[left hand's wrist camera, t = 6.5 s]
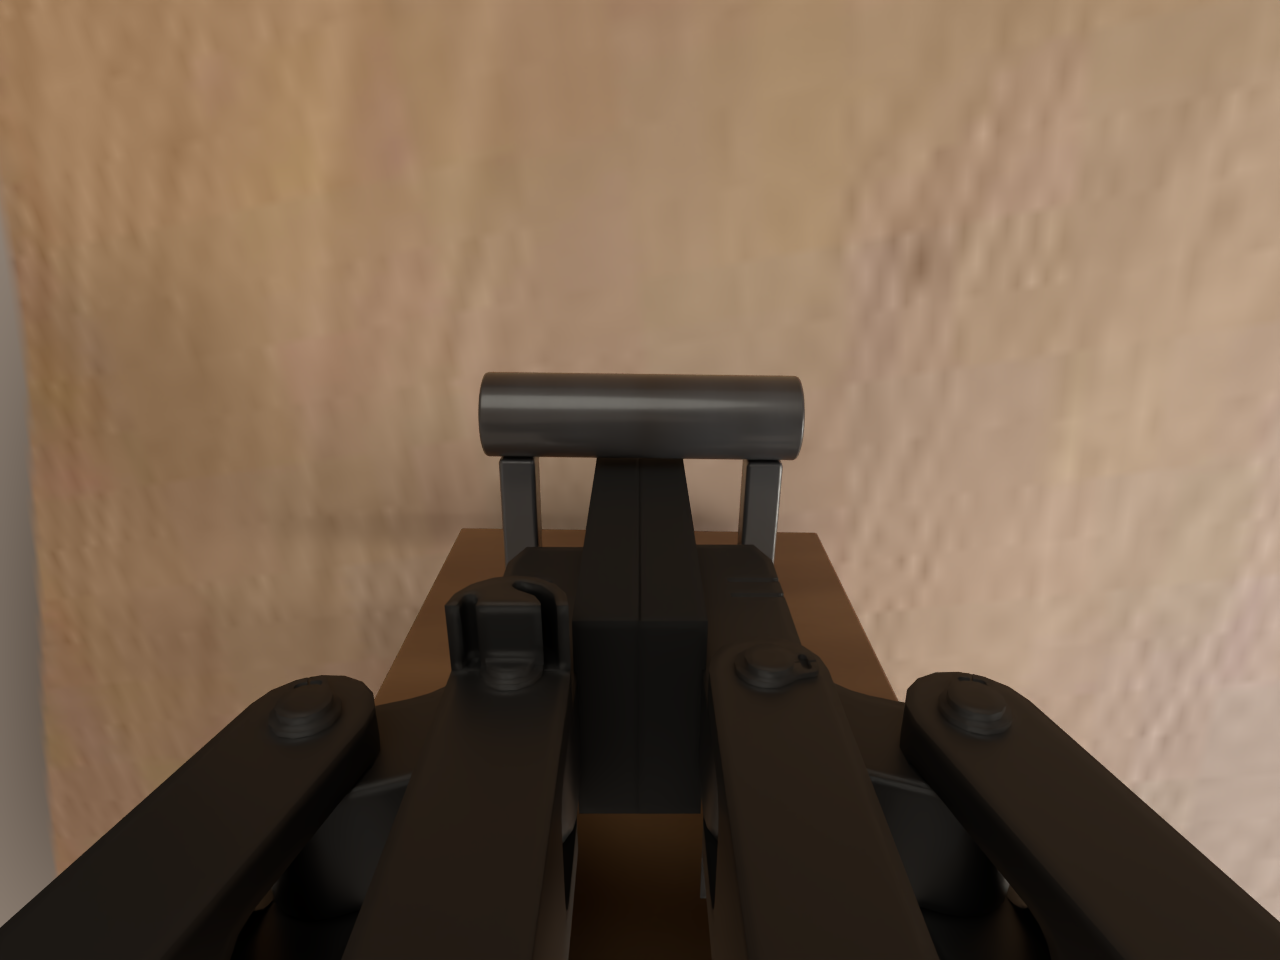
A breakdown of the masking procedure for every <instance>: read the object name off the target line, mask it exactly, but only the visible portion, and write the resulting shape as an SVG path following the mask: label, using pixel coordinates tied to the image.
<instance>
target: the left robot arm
mask: <svg viewBox="0 0 1280 960" xmlns="http://www.w3.org/2000/svg"><path fill="white" fill-rule="evenodd" d="M444 607H445V616H446V625H447V635H448V644H449V653H450V662H451V673H450V676H449V678H448V681H447V683H446V686H445V687H442V688H440V689H438V690H436V691H433V692H431V693H428V694H425V695H421V696H418V697H414V698H411V699H406V700H401V701H396V702H391V703H387V704H382V705H377V706H375V702H374V696H373V692H372V691H371V690H370V689H369V688H368V687H367V686H366V685H365V684H364V683H363V682H361V681H358V680H355V679H352V678H350V677H347V676H330V675H321V676H315V677H310V678H304V679H299V680H295V681H293V682H291V683H288V684H286V685H283V686H281V687H278V688H276V689H273V690H271V691H270V692H268V693H267V694H265V695H264V696H262V697H261V698H259V699H258V700H256V701H255V702H253V703H252V704H251V705H250V706H248V707H247V708H246V709H245V710H244V711H243V712H242V713H241V714H239V715H238V716H237V717H236V718H235V719H234V720H233V721H232V722H230V723H229V724H228V725H227V726H226V727H225V728H224V729H223V730H221V731H220V732H219V733H218V734H217V735H216V736H215V737H214V738H213V739H211V740H210V741H209V742H208V743H207V744H206V745H205V746H204V747H202V748H201V749H200V750H199V751H198V752H197V753H196V754H195V755H193V756H192V757H191V758H190V759H189V760H188V761H187V762H186V763H184V764H183V765H182V766H181V767H180V768H179V769H178V770H177V771H175V772H174V773H173V774H172V775H171V776H170V777H169V778H168V779H167V780H165V781H164V782H163V783H162V784H161V785H160V786H159V787H158V788H156V789H155V790H154V791H153V792H152V793H151V794H150V795H149V796H147V797H146V798H145V799H144V800H143V801H142V802H141V803H140V804H138V805H137V806H136V807H135V808H134V809H133V810H132V811H131V812H130V813H128V814H127V815H126V816H125V817H124V818H123V819H122V820H121V821H119V822H118V823H117V824H116V825H115V826H114V827H113V828H112V829H110V830H109V831H108V832H107V833H106V834H105V835H104V836H103V837H101V838H100V839H99V840H98V841H97V842H96V843H95V844H94V845H93V846H91V847H90V848H89V849H88V850H87V851H86V852H85V853H84V854H82V855H81V856H80V857H79V858H78V859H77V860H76V861H75V862H73V863H72V864H71V865H70V866H69V867H68V868H67V869H66V870H64V871H63V872H62V873H61V874H60V875H59V876H58V877H57V878H56V879H54V880H53V881H52V882H51V883H50V884H49V885H48V886H47V887H45V888H44V889H43V890H42V891H41V892H40V893H39V894H38V895H36V896H35V897H34V898H33V899H32V900H31V901H30V902H29V903H27V904H26V905H25V906H24V907H23V908H22V909H21V910H20V911H19V912H17V913H16V914H15V915H14V916H13V917H12V918H11V919H10V920H8V921H7V922H6V923H5V924H4V925H3V926H2V927H1V928H0V960H568V957H569V946H570V935H571V924H572V913H573V901H574V890H575V879H576V868H577V857H578V835H577V810H578V799H579V814H701V798H702V808H703V835H702V860H701V886H700V898H706V900H707V912H708V923H709V934H710V945H711V956H712V960H1280V922H1279V921H1278V920H1277V919H1276V918H1275V917H1273V916H1272V915H1271V914H1270V913H1269V912H1268V911H1267V910H1266V909H1264V908H1263V907H1262V906H1261V905H1260V904H1259V903H1258V902H1257V901H1255V900H1254V899H1253V898H1252V897H1251V896H1250V895H1249V894H1247V893H1246V892H1245V891H1244V890H1243V889H1242V888H1241V887H1240V886H1238V885H1237V884H1236V883H1235V882H1234V881H1233V880H1232V879H1231V878H1229V877H1228V876H1227V875H1226V874H1225V873H1224V872H1223V871H1221V870H1220V869H1219V868H1218V867H1217V866H1216V865H1215V864H1214V863H1212V862H1211V861H1210V860H1209V859H1208V858H1207V857H1206V856H1205V855H1203V854H1202V853H1201V852H1200V851H1199V850H1198V849H1197V848H1195V847H1194V846H1193V845H1192V844H1191V843H1190V842H1189V841H1188V840H1186V839H1185V838H1184V837H1183V836H1182V835H1181V834H1180V833H1179V832H1177V831H1176V830H1175V829H1174V828H1173V827H1172V826H1171V825H1169V824H1168V823H1167V822H1166V821H1165V820H1164V819H1163V818H1162V817H1160V816H1159V815H1158V814H1157V813H1156V812H1155V811H1154V810H1153V809H1151V808H1150V807H1149V806H1148V805H1147V804H1146V803H1145V802H1143V801H1142V800H1141V799H1140V798H1139V797H1138V796H1137V795H1136V794H1134V793H1133V792H1132V791H1131V790H1130V789H1129V788H1128V787H1127V786H1125V785H1124V784H1123V783H1122V782H1121V781H1120V780H1119V779H1117V778H1116V777H1115V776H1114V775H1113V774H1112V773H1111V772H1110V771H1108V770H1107V769H1106V768H1105V767H1104V766H1103V765H1102V764H1101V763H1099V762H1098V761H1097V760H1096V759H1095V758H1094V757H1093V756H1091V755H1090V754H1089V753H1088V752H1087V751H1086V750H1085V749H1084V748H1082V747H1081V746H1080V745H1079V744H1078V743H1077V742H1076V741H1075V740H1073V739H1072V738H1071V737H1070V736H1069V735H1068V734H1067V733H1065V732H1064V731H1063V730H1062V729H1061V728H1060V727H1059V726H1058V725H1056V724H1055V723H1054V722H1053V721H1052V720H1051V719H1050V718H1049V717H1047V716H1046V715H1045V714H1044V713H1043V712H1042V711H1041V710H1039V709H1038V708H1037V707H1036V706H1035V705H1034V704H1033V703H1032V702H1030V701H1029V700H1028V699H1026V698H1025V697H1023V696H1022V695H1020V694H1019V693H1017V692H1016V691H1014V690H1013V689H1011V688H1010V687H1008V686H1006V685H1003V684H1001V683H998V682H996V681H993V680H991V679H988V678H986V677H983V676H979V675H975V674H973V675H972V674H970V673H962V672H936V673H933V674H930V675H927V676H924V677H921V678H918V679H917V680H916V681H915V682H914V683H913V684H912V685H911V686H910V687H909V688H908V689H907V694H906V700H905V703H904V702H899V701H894V700H889V699H885V698H880V697H875V696H870V695H866V694H863V693H859V692H856V691H852V690H849V689H847V688H845V687H842V686H840V685H838V684H836V683H834V682H833V680H832V677H831V674H830V672H829V669H828V668H827V667H826V665H825V664H824V662H823V661H822V660H821V658H820V657H819V656H818V655H816V654H815V653H813V652H812V651H810V650H809V649H807V648H806V647H804V646H802V645H801V642H800V639H799V636H798V633H797V630H796V627H795V624H794V622H793V619H792V616H791V613H790V610H789V607H788V604H787V602H786V599H785V597H784V593H783V590H782V587H781V584H780V582H778V576H777V573H776V570H775V567H774V564H773V561H772V560H771V559H770V558H769V557H768V556H766V555H765V554H764V553H763V552H762V551H760V550H759V549H758V548H757V547H756V546H754V545H696V541H695V534H694V528H693V521H692V515H691V509H690V502H689V496H688V489H687V483H686V476H685V470H684V463H683V459H666V458H597V461H596V468H595V474H594V481H593V487H592V494H591V500H590V506H589V513H588V519H587V526H586V532H585V539H584V545H583V547H526V548H525V549H524V550H522V551H521V552H520V553H519V554H518V555H516V556H515V557H514V558H513V559H512V560H510V561H509V562H508V564H507V566H506V569H505V572H504V575H503V577H495V578H490V579H487V580H483V581H480V582H476V583H473V584H470V585H469V586H467V587H465V588H463V589H462V590H460V591H458V592H456V593H455V594H454V595H453V596H452V597H451V598H450V599H449V601H448V602H447V603H446V604H445V605H444Z"/></svg>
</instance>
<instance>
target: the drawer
mask: <svg viewBox="0 0 1280 960" xmlns="http://www.w3.org/2000/svg"><path fill="white" fill-rule="evenodd" d="M478 418H479V433H480V440H481V444H482V448H483V451H484V453H485V454H486V455H487V456H502V457H501V459H500V461H499V472H500V488H501V505H502V522H503V529H469V528H464V529H461V531H460V533H459V535H458V537H457V539H456V541H455V543H454V545H453V547H452V549H451V551H450V553H449V555H448V557H447V559H446V561H445V563H444V565H443V567H442V568H441V570H440V572H439V574H438V576H437V578H436V580H435V582H434V584H433V586H432V588H431V590H430V592H429V594H428V596H427V598H426V600H425V602H424V604H423V606H422V608H421V610H420V612H419V613H418V615H417V617H416V619H415V621H414V623H413V625H412V627H411V629H410V631H409V633H408V635H407V637H406V639H405V641H404V643H403V645H402V647H401V649H400V651H399V653H398V655H397V656H396V658H395V660H394V662H393V664H392V666H391V668H390V670H389V672H388V674H387V676H386V678H385V680H384V682H383V684H382V686H381V688H380V690H379V692H378V694H377V696H376V698H375V699H374V702H375V706H377V705H382V704H387V703H391V702H396V701H401V700H406V699H411V698H414V697H418V696H421V695H425V694H428V693H431V692H433V691H436V690H438V689H440V688H442V687H445V686H446V683H447V681H448V678H449V676H450V673H451V662H450V653H449V644H448V635H447V625H446V616H445V607H444V605H445V604H446V603H447V602H448V601H449V599H450V598H451V597H452V596H453V595H454V594H455V593H456V592H458V591H460V590H462V589H463V588H465V587H467V586H469V585H470V584H473V583H476V582H480V581H483V580H487V579H490V578H495V577H503V575H504V572H505V569H506V566H507V564H508V562H509V561H510V560H512V559H513V558H514V557H515V556H516V555H518V554H519V553H520V552H521V551H522V550H524V549H525V548H526V547H583V545H584V539H585V532H586V530H548V529H542V527H541V501H540V476H539V457H587V458H666V459H743V466H742V481H741V496H740V511H739V526H738V532H707V531H694V534H695V541H696V545H754V546H756V547H757V548H758V549H759V550H760V551H762V552H763V553H764V554H765V555H766V556H768V557H769V558H770V559H771V560H772V561H773V564H774V567H775V570H776V573H777V576H778V582H780V584H781V587H782V590H783V593H784V597H785V599H786V602H787V604H788V607H789V610H790V613H791V616H792V619H793V622H794V624H795V627H796V630H797V633H798V636H799V639H800V642H801V645H802V646H804V647H806V648H807V649H809V650H810V651H812V652H813V653H815V654H816V655H818V656H819V657H820V658H821V660H822V661H823V662H824V664H825V665H826V667H827V668H828V669H829V672H830V674H831V677H832V680H833V682H834V683H836V684H838V685H840V686H842V687H845V688H847V689H849V690H852V691H856V692H859V693H863V694H866V695H870V696H875V697H880V698H885V699H889V700H894V701H898V699H897V697H896V695H895V693H894V691H893V689H892V687H891V685H890V683H889V681H888V679H887V677H886V675H885V673H884V670H883V668H882V666H881V664H880V662H879V660H878V658H877V656H876V654H875V652H874V650H873V648H872V646H871V644H870V642H869V640H868V638H867V636H866V634H865V632H864V629H863V627H862V625H861V623H860V621H859V619H858V617H857V615H856V613H855V611H854V609H853V607H852V605H851V603H850V601H849V599H848V597H847V595H846V593H845V590H844V588H843V586H842V584H841V582H840V580H839V578H838V576H837V574H836V572H835V570H834V568H833V566H832V564H831V562H830V560H829V558H828V556H827V554H826V552H825V549H824V547H823V545H822V543H821V541H820V539H819V537H818V535H817V534H816V533H787V532H777V525H778V514H779V502H780V491H781V480H782V468H783V466H782V463H781V461H780V460H794V459H796V458H797V457H798V455H799V452H800V449H801V446H802V441H803V434H804V422H805V403H804V393H803V388H802V384H801V381H800V379H799V378H798V377H796V376H757V375H680V374H603V373H527V372H488V373H486V374H485V375H484V377H483V379H482V383H481V387H480V394H479V409H478ZM577 835H578V857H577V868H576V879H575V890H574V901H573V913H572V924H571V935H570V946H569V957H568V960H712V956H711V945H710V934H709V923H708V912H707V900H706V898H700V886H701V860H702V835H703V808H702V798H701V814H579V799H578V810H577Z"/></svg>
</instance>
